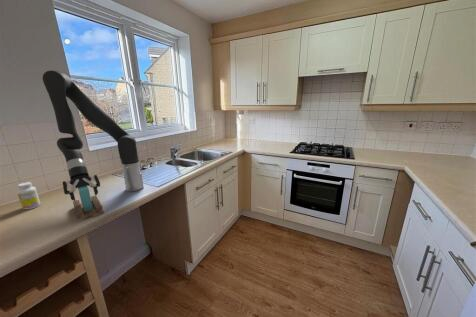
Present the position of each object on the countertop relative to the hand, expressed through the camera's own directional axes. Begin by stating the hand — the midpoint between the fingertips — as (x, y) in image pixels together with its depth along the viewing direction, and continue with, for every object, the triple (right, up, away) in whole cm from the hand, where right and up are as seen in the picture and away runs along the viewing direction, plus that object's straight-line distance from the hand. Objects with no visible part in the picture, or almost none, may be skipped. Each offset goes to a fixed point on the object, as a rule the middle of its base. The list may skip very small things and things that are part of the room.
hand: (85, 197), depth 97 cm
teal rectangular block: (-1, -6, +3) cm, 7 cm away
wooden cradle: (-1, -7, +3) cm, 8 cm away
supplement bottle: (-33, -6, +7) cm, 35 cm away
